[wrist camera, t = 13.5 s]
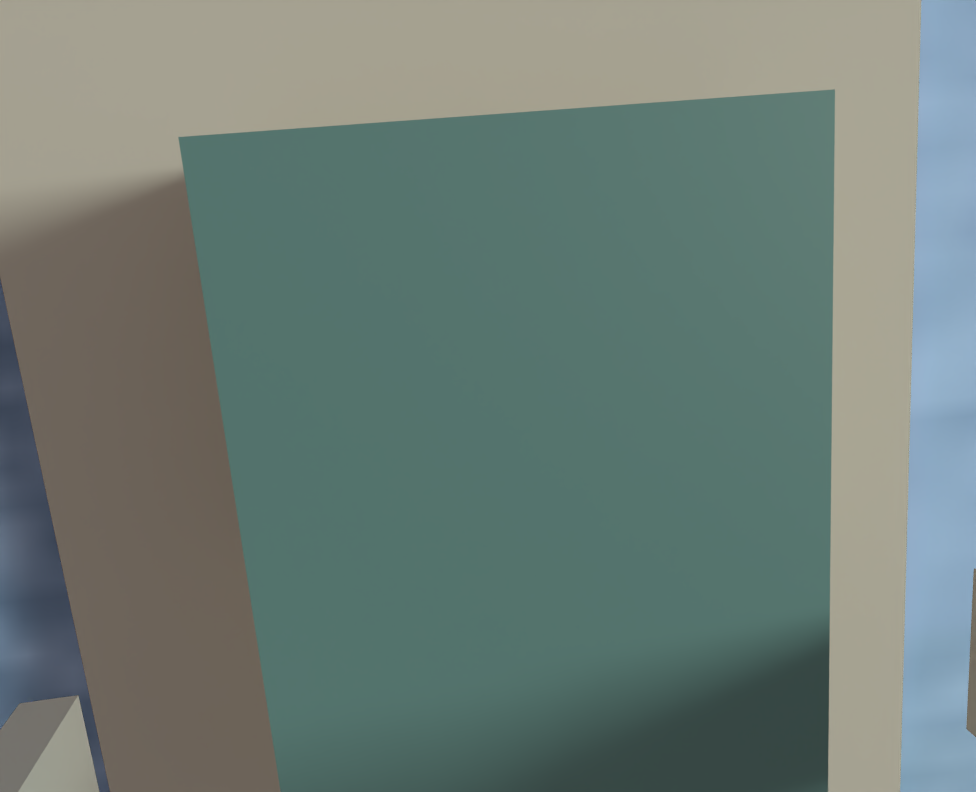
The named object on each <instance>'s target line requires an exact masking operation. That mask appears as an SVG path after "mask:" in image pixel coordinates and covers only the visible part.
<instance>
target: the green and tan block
mask: <svg viewBox="0 0 976 792" xmlns="http://www.w3.org/2000/svg"><path fill="white" fill-rule="evenodd" d="M178 139H179V145H180V151H181V158H182V164H183V171H184V177H185V183H186V190H187V196H188V203H189V209H190V215H191V222H192V228H193V235H194V241H195V247H196V254H197V260H198V267H199V273H200V279H201V286H202V292H203V299H204V305H205V311H206V318H207V324H208V331H209V337H210V343H211V350H212V356H213V363H214V369H215V375H216V382H217V388H218V395H219V401H220V407H221V414H222V420H223V427H224V433H225V439H226V446H227V452H228V459H229V465H230V471H231V478H232V484H233V491H234V497H235V503H236V510H237V516H238V523H239V529H240V535H241V542H242V548H243V555H244V561H245V567H246V574H247V580H248V587H249V593H250V599H251V606H252V612H253V619H254V625H255V631H256V638H257V644H258V651H259V657H260V663H261V670H262V676H263V683H264V689H265V695H266V702H267V708H268V715H269V721H270V727H271V734H272V740H273V747H274V753H275V759H276V766H277V772H278V779H279V785H280V791H281V792H828V748H829V648H830V547H831V447H832V346H833V246H834V146H835V89H833V90H819V91H806V92H792V93H778V94H764V95H750V96H737V97H723V98H709V99H695V100H682V101H668V102H654V103H640V104H626V105H613V106H599V107H585V108H571V109H558V110H544V111H530V112H516V113H503V114H489V115H475V116H461V117H447V118H434V119H420V120H406V121H392V122H379V123H365V124H351V125H337V126H323V127H310V128H296V129H282V130H268V131H255V132H241V133H227V134H213V135H199V136H186V137H178Z"/></svg>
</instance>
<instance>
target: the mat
mask: <svg viewBox="0 0 976 792" xmlns="http://www.w3.org/2000/svg"><path fill="white" fill-rule="evenodd" d="M920 25H921V0H0V279H1V284H2V288H3V293H4V298H5V302H6V307H7V312H8V316H9V321H10V326H11V330H12V335H13V340H14V345H15V349H16V354H17V359H18V363H19V368H20V373H21V377H22V382H23V387H24V391H25V396H26V401H27V405H28V410H29V415H30V419H31V424H32V429H33V433H34V438H35V443H36V447H37V452H38V457H39V462H40V466H41V471H42V476H43V480H44V485H45V490H46V494H47V499H48V504H49V508H50V513H51V518H52V522H53V527H54V532H55V536H56V541H57V546H58V550H59V555H60V560H61V564H62V569H63V574H64V579H65V583H66V588H67V593H68V597H69V602H70V607H71V611H72V616H73V621H74V625H75V630H76V635H77V639H78V644H79V649H80V653H81V658H82V663H83V667H84V672H85V677H86V681H87V686H88V691H89V696H90V700H91V705H92V710H93V714H94V719H95V724H96V728H97V733H98V738H99V742H100V747H101V752H102V756H103V761H104V766H105V770H106V775H107V780H108V784H109V789H110V792H281V791H280V785H279V779H278V772H277V766H276V759H275V753H274V747H273V740H272V734H271V727H270V721H269V715H268V708H267V702H266V695H265V689H264V683H263V676H262V670H261V663H260V657H259V651H258V644H257V638H256V631H255V625H254V619H253V612H252V606H251V599H250V593H249V587H248V580H247V574H246V567H245V561H244V555H243V548H242V542H241V535H240V529H239V523H238V516H237V510H236V503H235V497H234V491H233V484H232V478H231V471H230V465H229V459H228V452H227V446H226V439H225V433H224V427H223V420H222V414H221V407H220V401H219V395H218V388H217V382H216V375H215V369H214V363H213V356H212V350H211V343H210V337H209V331H208V324H207V318H206V311H205V305H204V299H203V292H202V286H201V279H200V273H199V267H198V260H197V254H196V247H195V241H194V235H193V228H192V222H191V215H190V209H189V203H188V196H187V190H186V183H185V177H184V171H183V164H182V158H181V151H180V145H179V139H178V137H186V136H199V135H213V134H227V133H241V132H255V131H268V130H282V129H296V128H310V127H323V126H337V125H351V124H365V123H379V122H392V121H406V120H420V119H434V118H447V117H461V116H475V115H489V114H503V113H516V112H530V111H544V110H558V109H571V108H585V107H599V106H613V105H626V104H640V103H654V102H668V101H682V100H695V99H709V98H723V97H737V96H750V95H764V94H778V93H792V92H806V91H819V90H833V89H835V146H834V246H833V346H832V447H831V547H830V648H829V748H828V792H900V771H901V734H902V697H903V659H904V622H905V585H906V547H907V510H908V473H909V435H910V398H911V361H912V323H913V286H914V249H915V212H916V174H917V137H918V100H919V62H920Z"/></svg>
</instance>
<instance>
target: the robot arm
mask: <svg viewBox="0 0 976 792" xmlns="http://www.w3.org/2000/svg"><path fill="white" fill-rule="evenodd" d="M967 730H968V731H969V732H971V733H972V734H973V735H974V736H975V737H976V569H974V577H973V599H972V621H971V642H970V664H969V686H968V707H967ZM0 792H99V788H98V783H97V779H96V774H95V770H94V765H93V760H92V756H91V751H90V747H89V742H88V737H87V733H86V728H85V723H84V719H83V714H82V710H81V705H80V700H79V696H78V695H76V696H69V697H62V698H54V699H47V700H40V701H33V702H26V703H20V704H19V705H18V706H17V708H16V709H15V710H14V712H13V713H12V715H11V716H10V717H9V719H8V720H7V721H6V723H5V724H4V726H3V727H2V728H1V730H0Z"/></svg>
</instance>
